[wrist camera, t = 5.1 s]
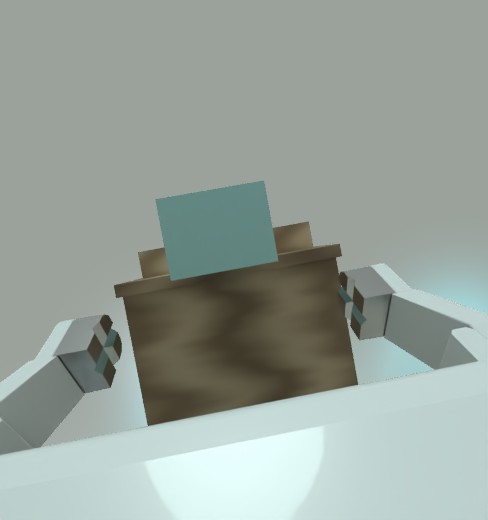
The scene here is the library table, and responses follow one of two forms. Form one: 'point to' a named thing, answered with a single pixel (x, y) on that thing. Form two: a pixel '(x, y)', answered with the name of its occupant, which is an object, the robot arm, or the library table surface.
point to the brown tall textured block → (239, 331)
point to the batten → (217, 230)
